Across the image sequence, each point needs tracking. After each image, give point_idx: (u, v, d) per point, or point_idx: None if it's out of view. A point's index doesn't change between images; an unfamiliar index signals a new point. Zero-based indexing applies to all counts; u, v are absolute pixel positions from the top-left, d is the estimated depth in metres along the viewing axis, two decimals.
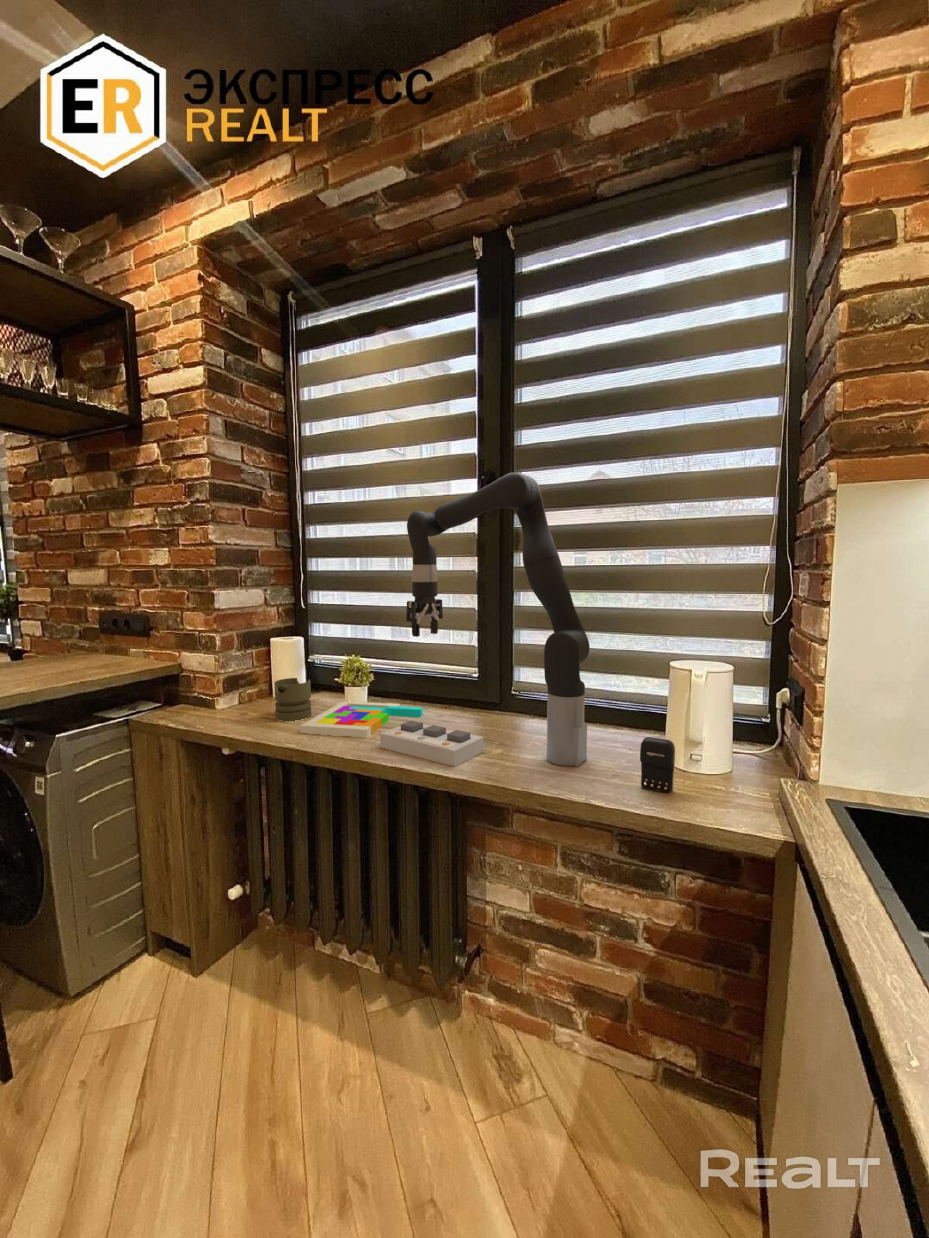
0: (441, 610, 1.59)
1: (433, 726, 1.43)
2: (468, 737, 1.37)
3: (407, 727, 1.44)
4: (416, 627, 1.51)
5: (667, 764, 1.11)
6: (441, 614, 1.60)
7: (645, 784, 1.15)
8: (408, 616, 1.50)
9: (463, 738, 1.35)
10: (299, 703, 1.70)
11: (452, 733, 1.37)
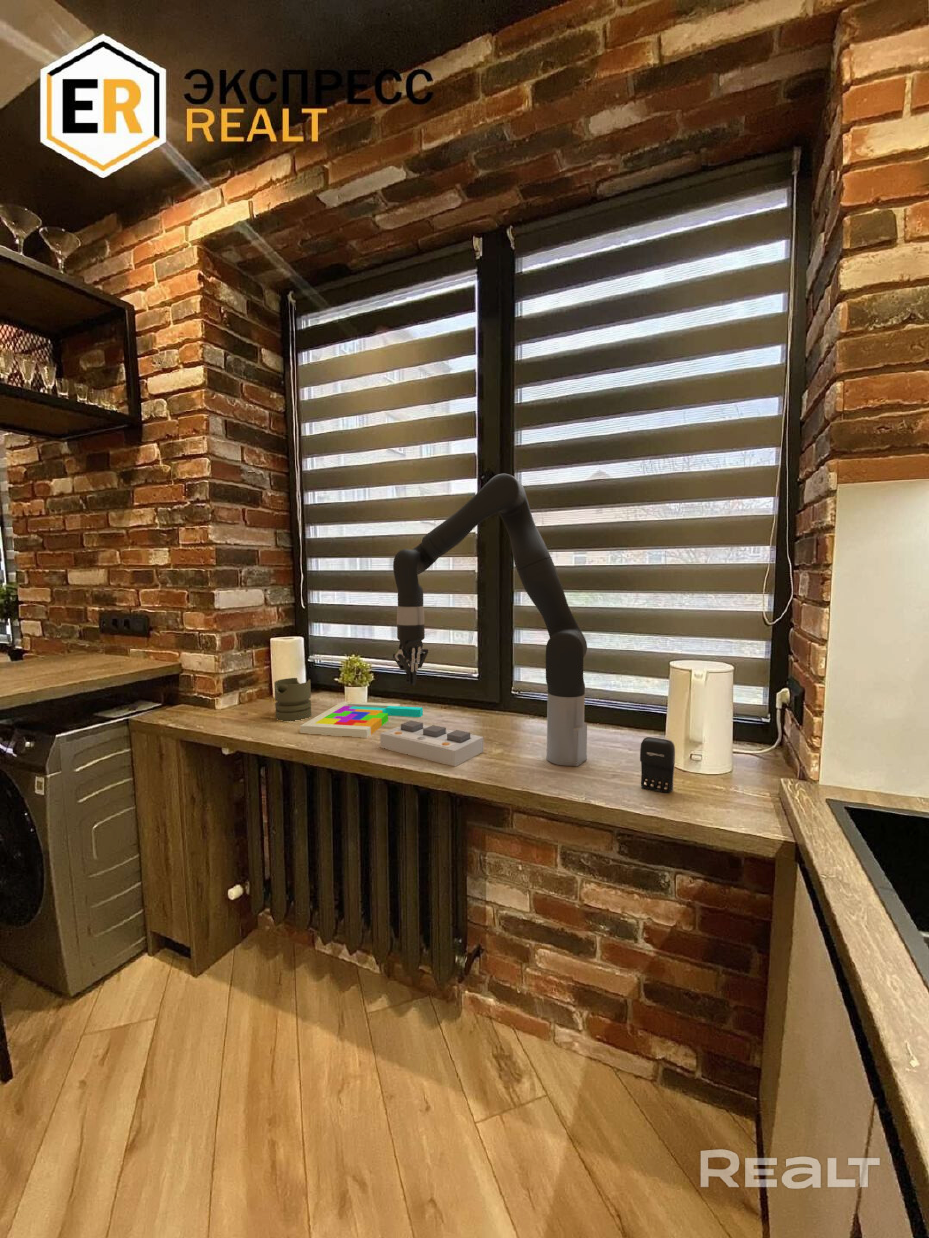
0: (423, 660, 1.47)
1: (433, 726, 1.43)
2: (468, 737, 1.37)
3: (407, 727, 1.44)
4: (410, 675, 1.44)
5: (667, 764, 1.11)
6: (421, 663, 1.46)
7: (645, 784, 1.15)
8: (401, 666, 1.42)
9: (463, 738, 1.35)
10: (299, 703, 1.70)
11: (452, 733, 1.37)
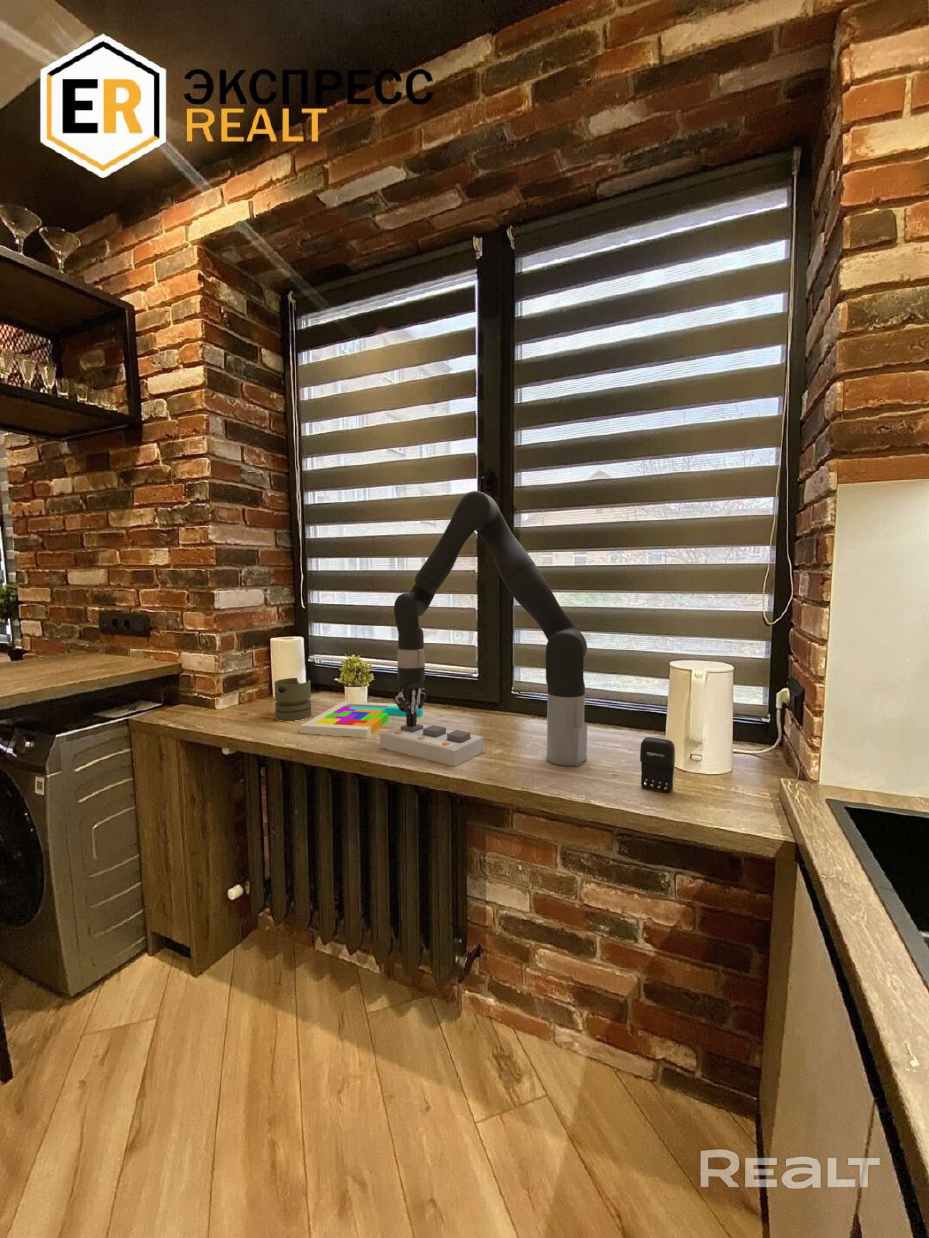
0: (423, 700, 1.48)
1: (433, 726, 1.43)
2: (468, 737, 1.37)
3: (407, 729, 1.44)
4: (411, 717, 1.45)
5: (667, 764, 1.11)
6: (421, 704, 1.48)
7: (645, 784, 1.15)
8: (401, 708, 1.43)
9: (463, 738, 1.35)
10: (299, 703, 1.70)
11: (452, 733, 1.37)
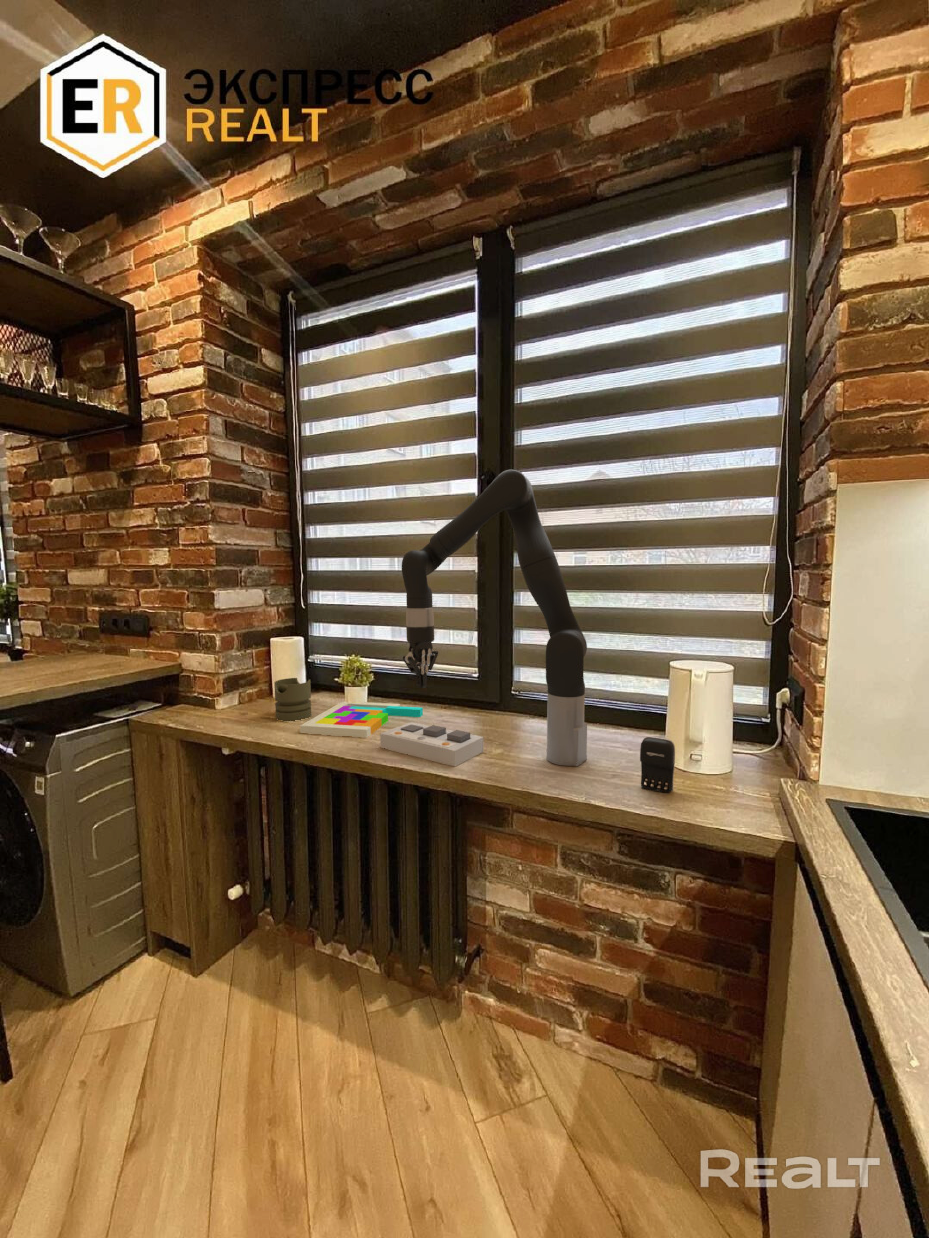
0: (433, 662, 1.45)
1: (433, 726, 1.43)
2: (468, 737, 1.37)
3: None
4: (421, 678, 1.42)
5: (667, 764, 1.11)
6: (431, 665, 1.45)
7: (645, 784, 1.15)
8: (411, 668, 1.41)
9: (463, 738, 1.35)
10: (299, 703, 1.70)
11: (452, 733, 1.37)
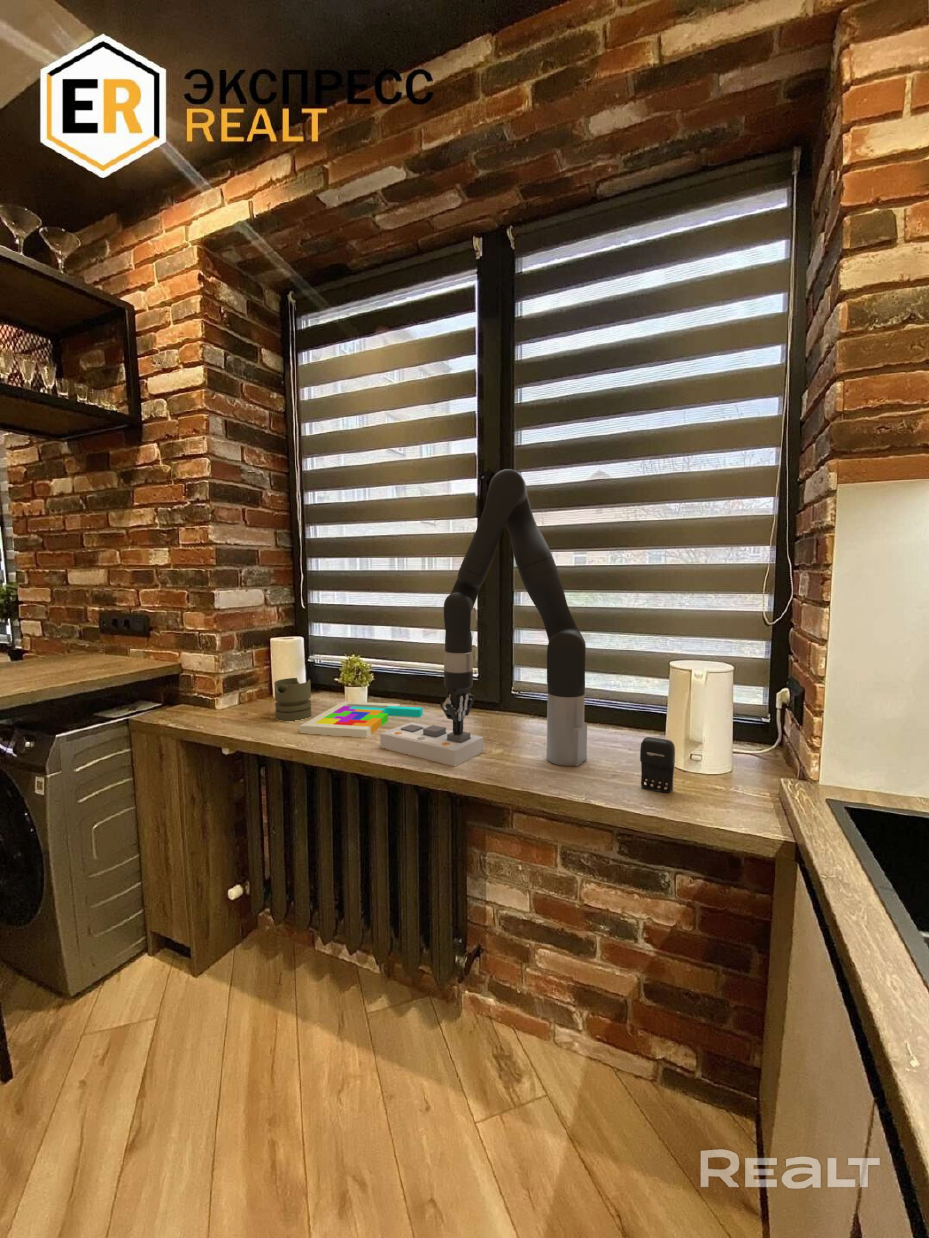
0: (470, 707, 1.39)
1: (433, 726, 1.43)
2: (468, 737, 1.37)
3: None
4: (458, 725, 1.36)
5: (667, 764, 1.11)
6: (468, 711, 1.39)
7: (645, 784, 1.15)
8: (448, 715, 1.34)
9: (463, 739, 1.35)
10: (299, 703, 1.70)
11: (452, 733, 1.37)
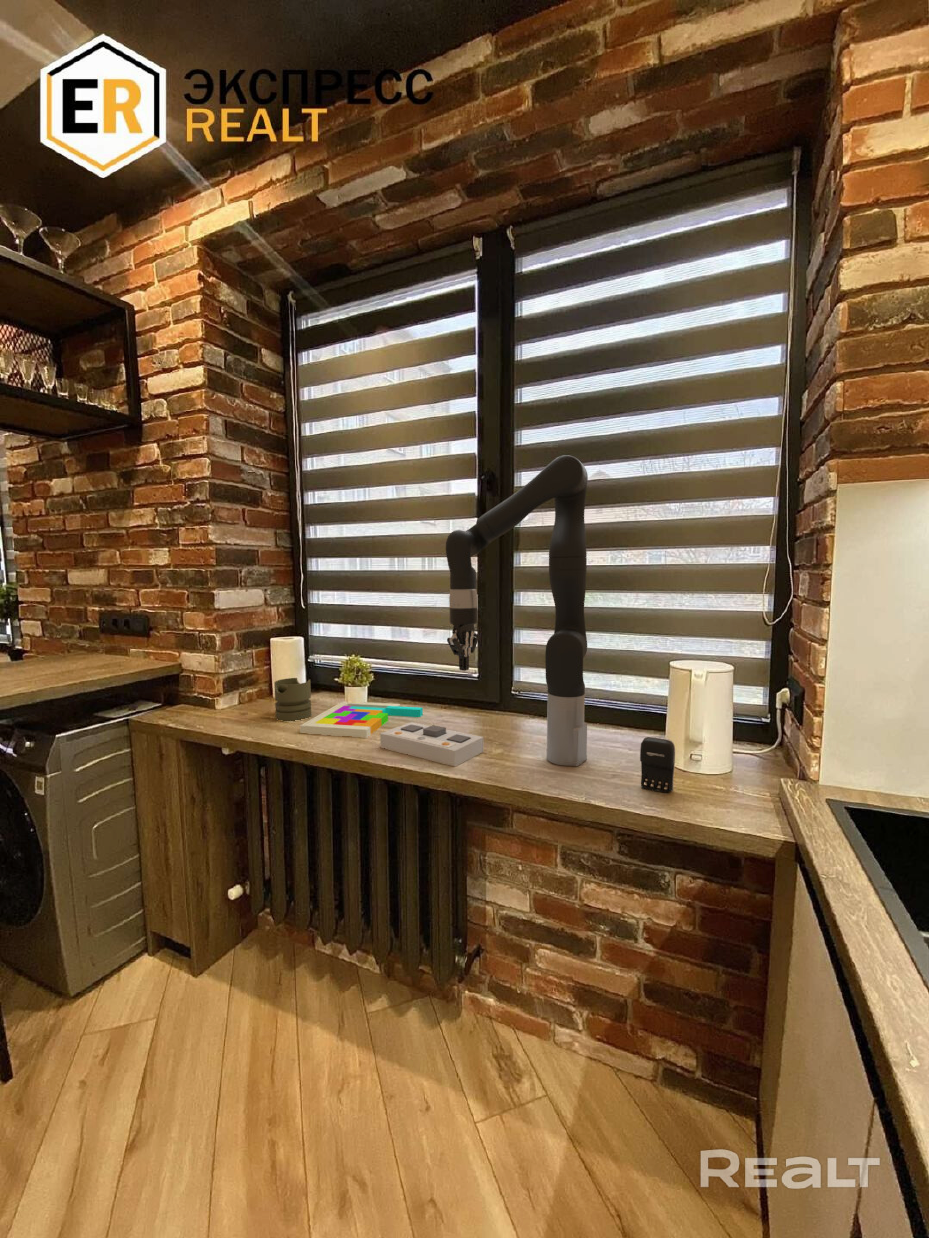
0: (475, 644, 1.43)
1: (433, 726, 1.43)
2: None
3: None
4: (464, 660, 1.40)
5: (667, 764, 1.11)
6: (473, 648, 1.43)
7: (645, 784, 1.15)
8: (454, 650, 1.38)
9: None
10: (299, 703, 1.70)
11: (452, 737, 1.37)
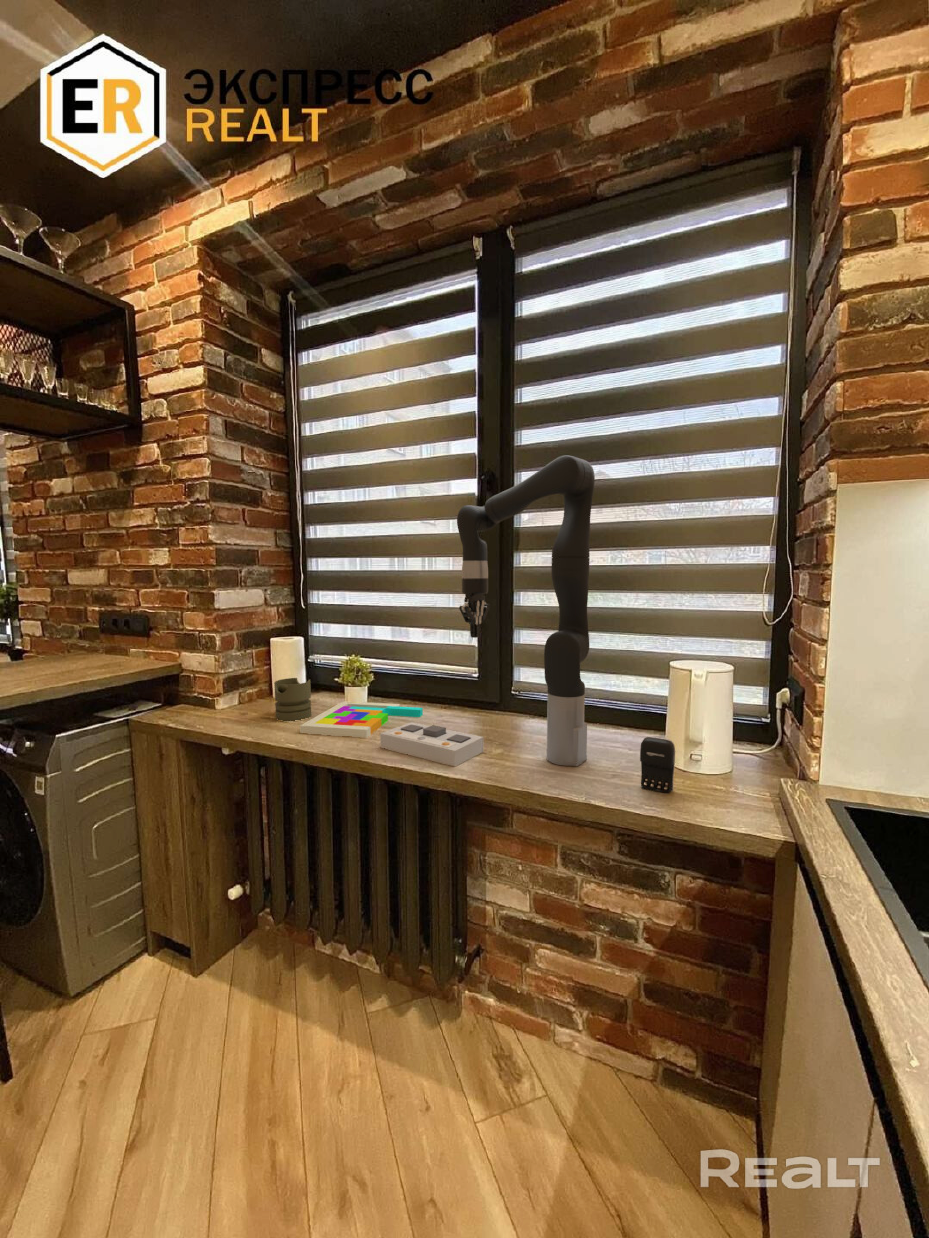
0: (485, 614, 1.52)
1: (433, 726, 1.43)
2: None
3: None
4: (475, 628, 1.49)
5: (667, 764, 1.11)
6: (484, 617, 1.52)
7: (645, 784, 1.15)
8: (466, 618, 1.48)
9: None
10: (299, 703, 1.70)
11: (452, 737, 1.37)
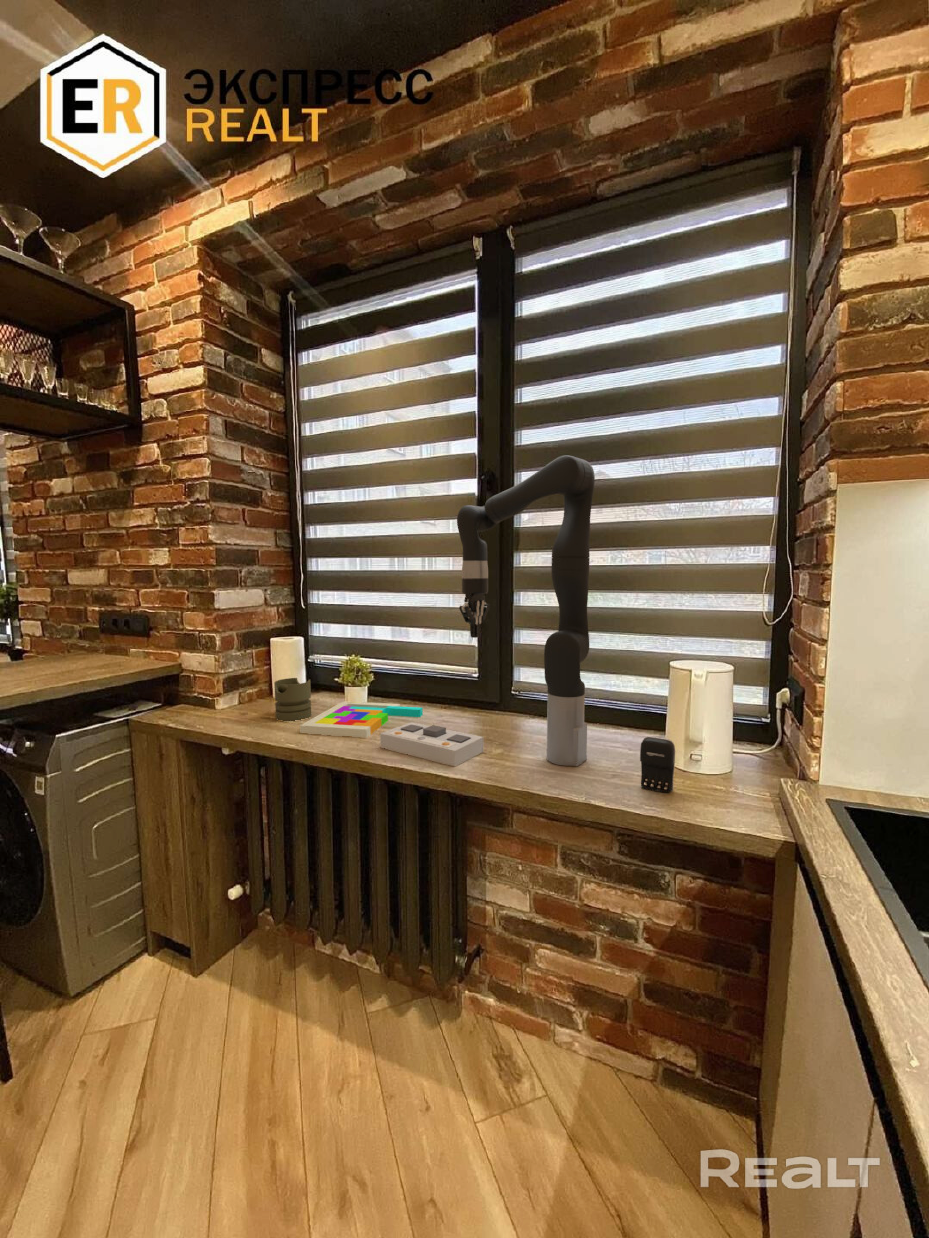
0: (485, 614, 1.52)
1: (433, 726, 1.43)
2: None
3: None
4: (475, 628, 1.49)
5: (667, 764, 1.11)
6: (484, 617, 1.52)
7: (645, 784, 1.15)
8: (466, 618, 1.48)
9: None
10: (299, 703, 1.70)
11: (452, 737, 1.37)
